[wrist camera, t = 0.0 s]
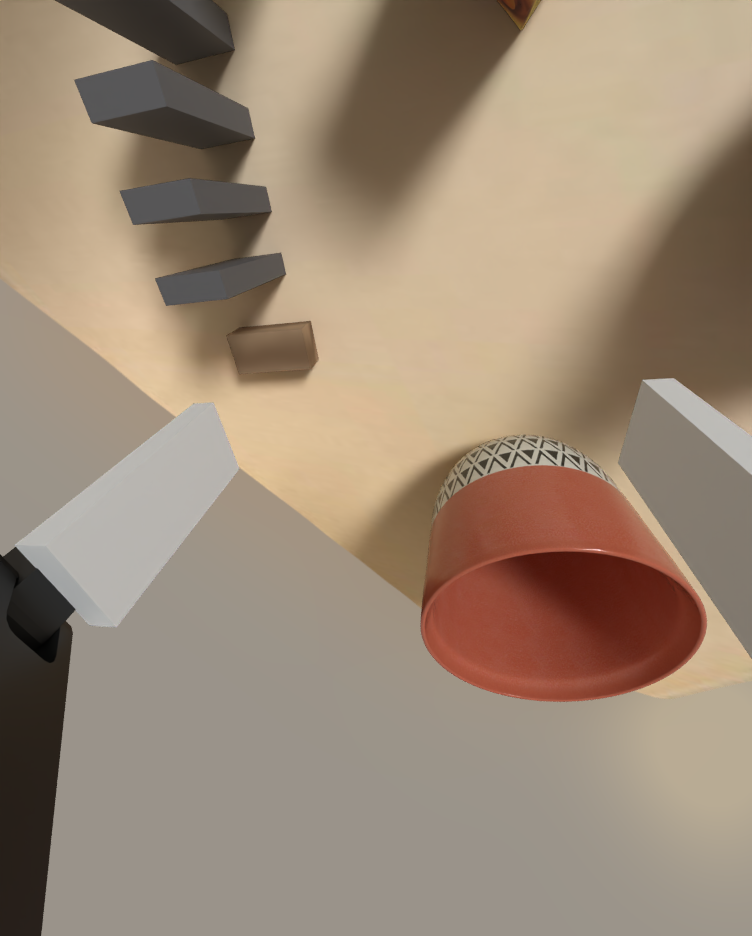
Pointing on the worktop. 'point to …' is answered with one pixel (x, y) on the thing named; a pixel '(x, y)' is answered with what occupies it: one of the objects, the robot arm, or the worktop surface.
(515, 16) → the candy box
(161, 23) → the domino
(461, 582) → the planter
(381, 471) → the worktop surface
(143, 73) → the domino
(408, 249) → the worktop surface
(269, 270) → the domino
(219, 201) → the domino
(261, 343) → the end block
